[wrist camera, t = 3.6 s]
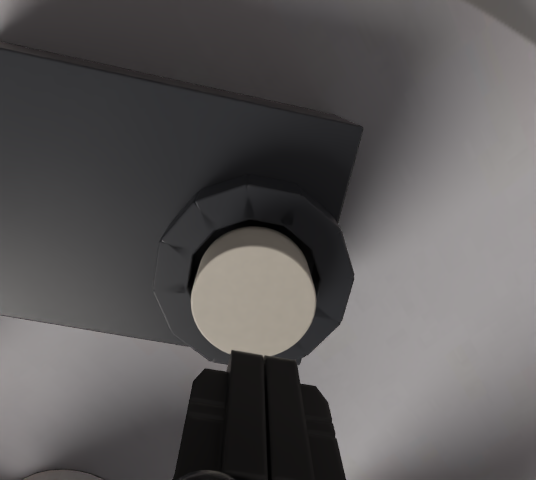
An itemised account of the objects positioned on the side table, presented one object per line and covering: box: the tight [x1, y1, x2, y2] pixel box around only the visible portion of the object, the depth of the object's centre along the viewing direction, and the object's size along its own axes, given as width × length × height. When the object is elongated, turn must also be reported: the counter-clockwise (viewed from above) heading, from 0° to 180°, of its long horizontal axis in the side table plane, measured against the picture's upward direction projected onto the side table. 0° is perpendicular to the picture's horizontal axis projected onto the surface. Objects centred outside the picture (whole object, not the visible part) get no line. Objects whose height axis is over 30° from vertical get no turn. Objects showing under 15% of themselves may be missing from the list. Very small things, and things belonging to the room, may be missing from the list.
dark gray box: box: [0, 41, 363, 365], centre depth 19 cm, size 17×10×8 cm, turn 78°
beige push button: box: [191, 226, 316, 358], centre depth 16 cm, size 4×4×2 cm
